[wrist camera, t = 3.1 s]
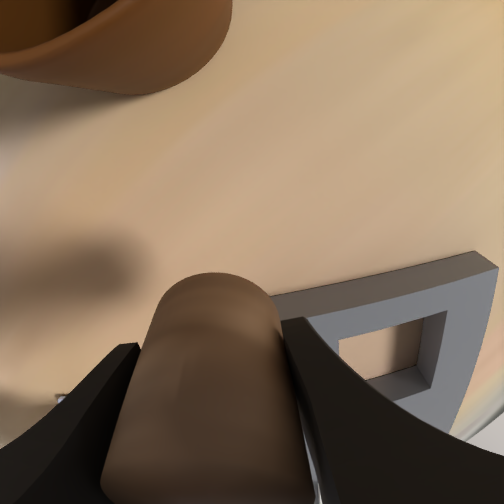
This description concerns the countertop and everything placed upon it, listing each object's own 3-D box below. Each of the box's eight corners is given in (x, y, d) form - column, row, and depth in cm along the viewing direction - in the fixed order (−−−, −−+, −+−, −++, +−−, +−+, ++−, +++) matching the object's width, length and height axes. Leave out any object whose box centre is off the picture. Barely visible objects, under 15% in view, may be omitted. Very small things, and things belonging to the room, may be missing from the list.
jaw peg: (176, 380, 11) (152, 532, 5) (137, 284, 9) (58, 451, 4) (287, 364, 11) (317, 523, 5) (270, 261, 9) (310, 444, 4)
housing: (297, 495, 27) (300, 514, 25) (255, 299, 17) (258, 328, 15) (418, 462, 27) (425, 479, 24) (475, 250, 17) (500, 268, 14)
